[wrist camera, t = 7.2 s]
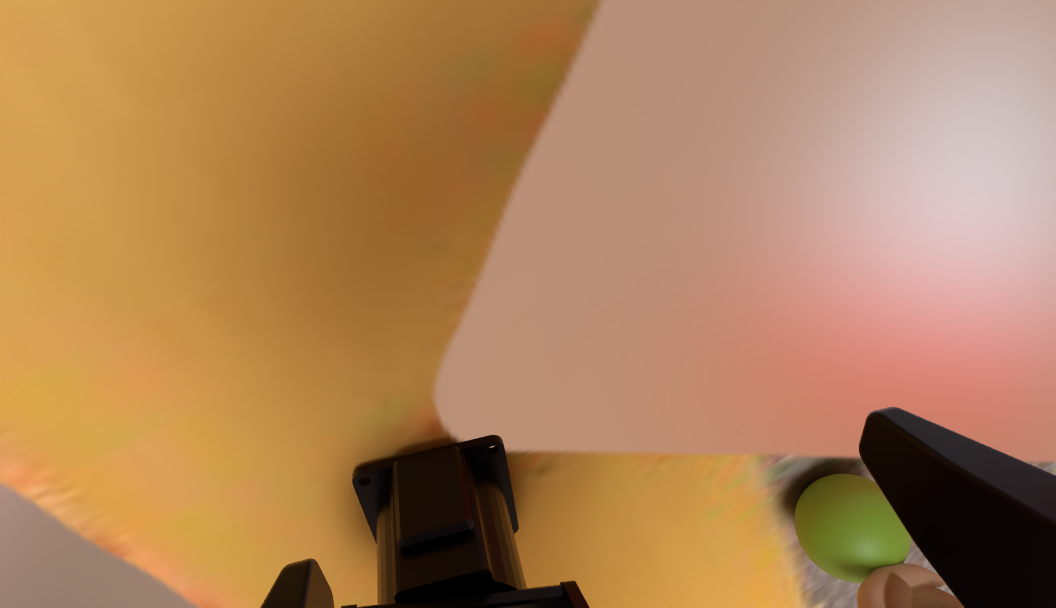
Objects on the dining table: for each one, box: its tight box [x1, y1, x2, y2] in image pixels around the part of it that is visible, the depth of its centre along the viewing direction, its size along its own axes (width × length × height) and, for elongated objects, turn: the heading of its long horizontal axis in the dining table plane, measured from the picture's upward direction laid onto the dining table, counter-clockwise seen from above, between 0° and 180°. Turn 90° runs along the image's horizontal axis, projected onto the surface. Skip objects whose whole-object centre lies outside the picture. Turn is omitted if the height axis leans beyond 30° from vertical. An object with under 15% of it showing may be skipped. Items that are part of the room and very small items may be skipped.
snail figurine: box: [794, 474, 964, 608], centre depth 29 cm, size 5×6×12 cm
